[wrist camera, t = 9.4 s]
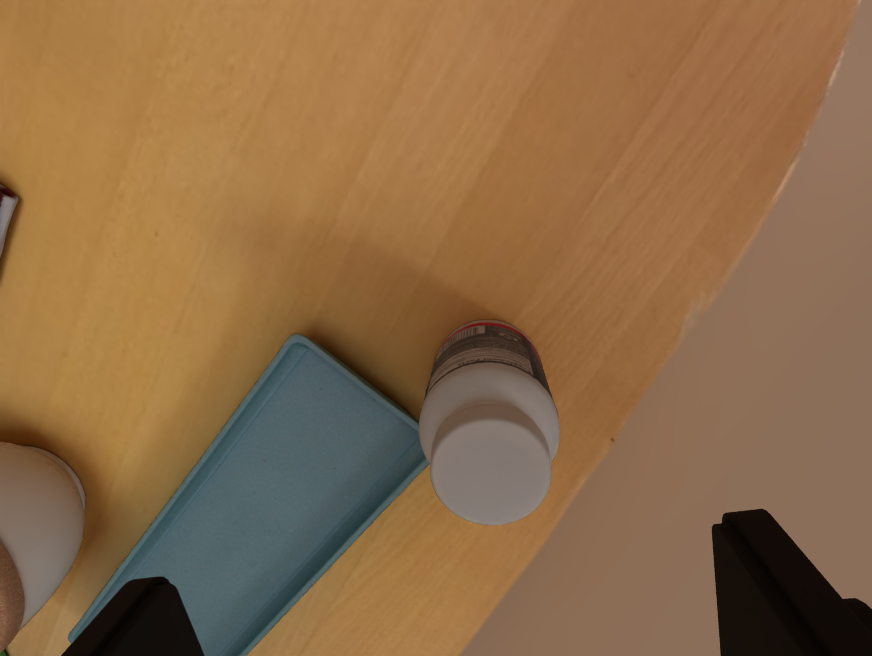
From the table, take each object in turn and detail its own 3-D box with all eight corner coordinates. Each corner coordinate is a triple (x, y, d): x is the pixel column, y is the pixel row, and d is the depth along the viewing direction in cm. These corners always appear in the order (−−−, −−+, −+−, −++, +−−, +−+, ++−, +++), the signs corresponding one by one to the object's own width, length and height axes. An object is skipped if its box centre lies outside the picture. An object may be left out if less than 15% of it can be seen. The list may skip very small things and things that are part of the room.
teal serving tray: (205, 689, 34) (184, 727, 32) (89, 612, 33) (58, 646, 31) (451, 423, 27) (448, 446, 24) (312, 315, 26) (294, 329, 24)
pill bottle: (535, 420, 26) (564, 552, 17) (432, 412, 27) (405, 537, 17) (546, 320, 25) (583, 405, 16) (436, 313, 25) (408, 392, 16)
